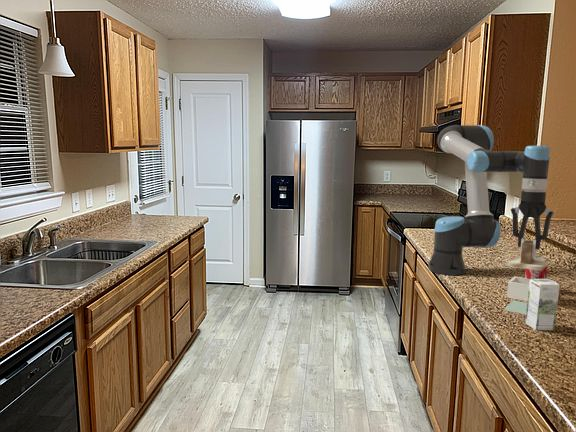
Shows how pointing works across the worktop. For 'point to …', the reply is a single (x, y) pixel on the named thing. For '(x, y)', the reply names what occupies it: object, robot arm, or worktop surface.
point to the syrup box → (542, 304)
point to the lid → (527, 259)
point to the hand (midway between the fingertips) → (527, 257)
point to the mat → (517, 307)
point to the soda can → (536, 272)
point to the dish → (518, 288)
